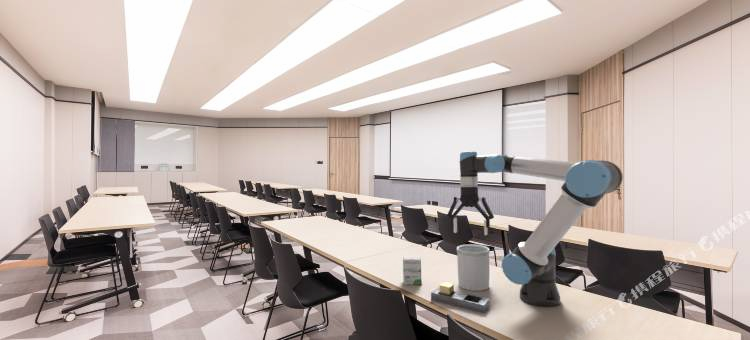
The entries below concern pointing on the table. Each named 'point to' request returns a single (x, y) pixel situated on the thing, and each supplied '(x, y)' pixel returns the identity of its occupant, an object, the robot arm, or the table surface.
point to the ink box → (412, 271)
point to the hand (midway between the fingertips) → (470, 233)
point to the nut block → (447, 289)
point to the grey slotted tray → (462, 300)
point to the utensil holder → (473, 267)
